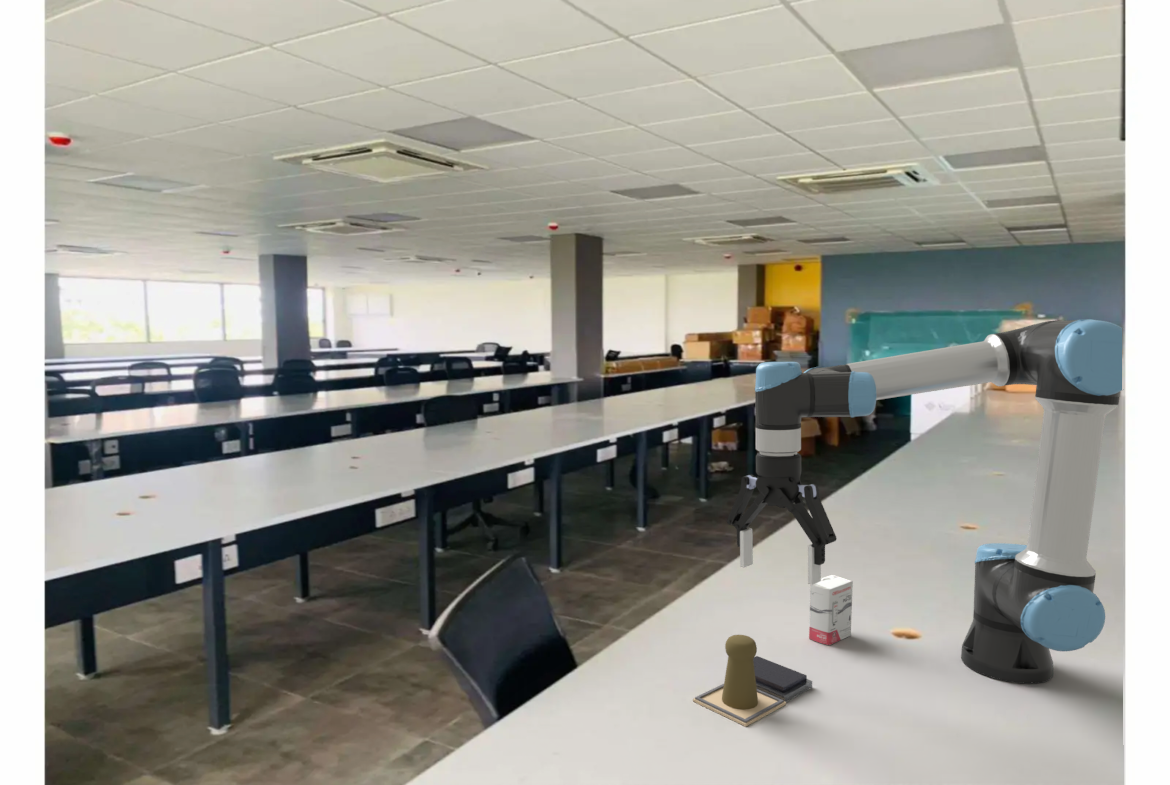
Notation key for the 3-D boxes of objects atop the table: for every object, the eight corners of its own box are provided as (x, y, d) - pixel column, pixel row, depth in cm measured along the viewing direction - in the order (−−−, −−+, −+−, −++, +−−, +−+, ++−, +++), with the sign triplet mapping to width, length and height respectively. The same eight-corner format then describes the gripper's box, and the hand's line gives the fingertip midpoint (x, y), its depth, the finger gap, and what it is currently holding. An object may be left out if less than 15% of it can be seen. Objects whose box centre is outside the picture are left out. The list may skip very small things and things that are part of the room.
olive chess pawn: (753, 692, 132) (754, 630, 131) (762, 709, 126) (763, 644, 125) (718, 692, 132) (719, 630, 131) (725, 709, 126) (727, 645, 125)
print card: (785, 704, 129) (786, 700, 129) (745, 726, 121) (745, 722, 121) (733, 681, 137) (733, 677, 137) (692, 701, 130) (693, 697, 130)
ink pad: (812, 687, 135) (812, 675, 135) (784, 702, 129) (784, 690, 129) (755, 664, 144) (756, 653, 144) (727, 678, 138) (728, 666, 138)
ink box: (828, 646, 152) (829, 588, 151) (807, 638, 156) (808, 582, 155) (852, 635, 158) (854, 579, 157) (831, 628, 162) (832, 573, 161)
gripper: (857, 456, 124) (857, 584, 125) (732, 443, 142) (733, 554, 144) (833, 463, 119) (834, 596, 120) (706, 448, 137) (708, 563, 139)
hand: (779, 574), depth 132 cm, fingers open, 13 cm apart
